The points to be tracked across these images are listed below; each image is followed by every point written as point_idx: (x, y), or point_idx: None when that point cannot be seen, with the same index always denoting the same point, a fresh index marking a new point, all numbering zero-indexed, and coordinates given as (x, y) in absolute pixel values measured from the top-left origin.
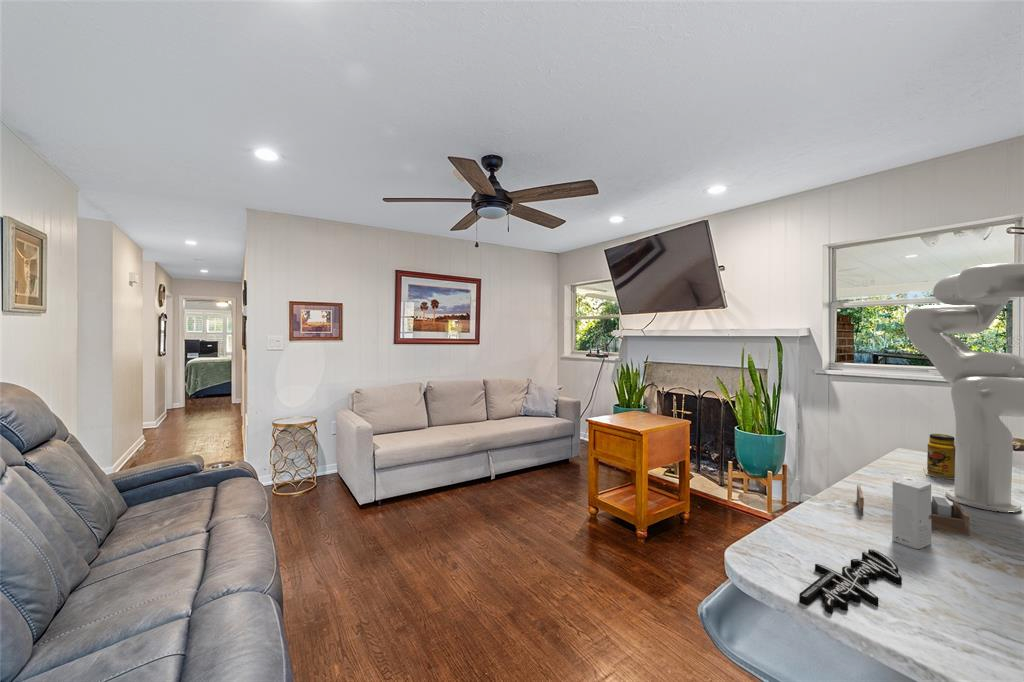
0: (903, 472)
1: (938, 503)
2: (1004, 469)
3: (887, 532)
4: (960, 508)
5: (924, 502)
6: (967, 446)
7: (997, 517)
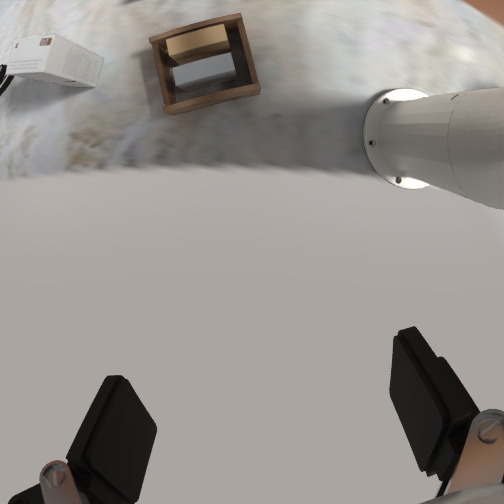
0: (495, 56)
1: (181, 66)
2: (424, 174)
3: (96, 41)
4: (210, 96)
5: (38, 77)
6: (446, 106)
7: (333, 150)
